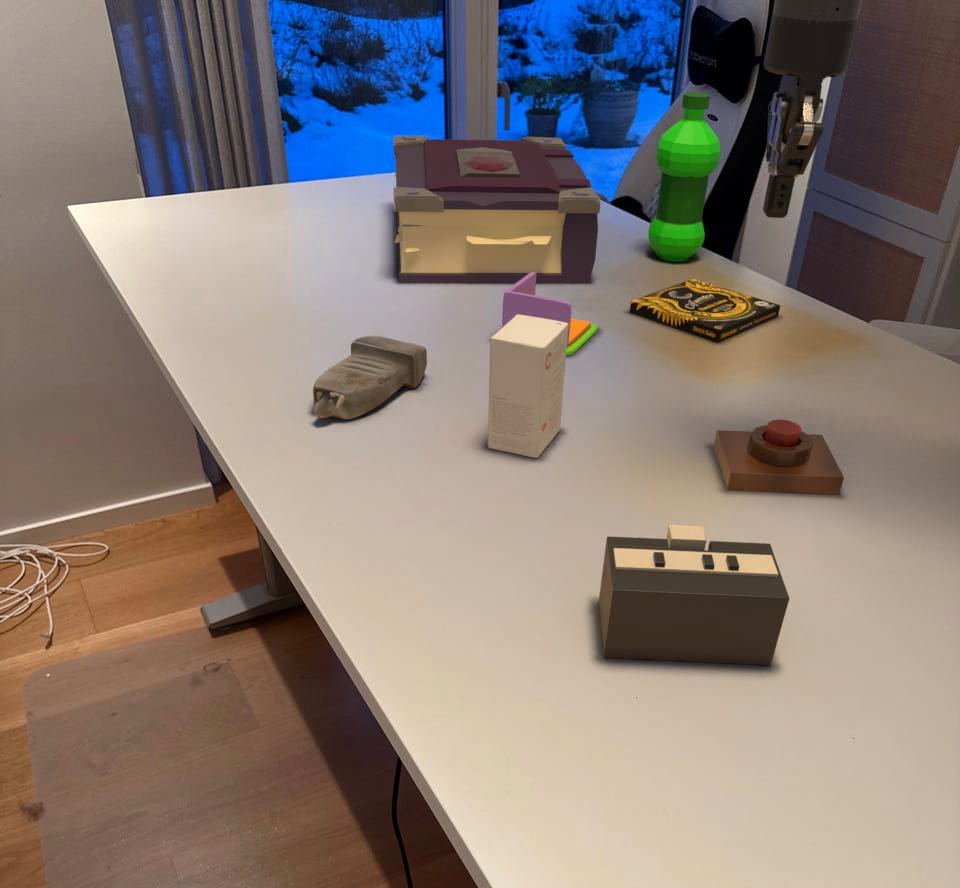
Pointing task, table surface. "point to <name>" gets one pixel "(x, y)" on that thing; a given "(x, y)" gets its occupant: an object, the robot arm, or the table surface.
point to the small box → (526, 384)
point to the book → (492, 211)
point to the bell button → (782, 433)
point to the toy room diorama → (544, 311)
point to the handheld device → (368, 376)
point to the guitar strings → (705, 310)
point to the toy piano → (691, 601)
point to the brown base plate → (776, 464)
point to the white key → (686, 537)
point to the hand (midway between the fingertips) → (774, 215)
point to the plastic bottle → (684, 181)
